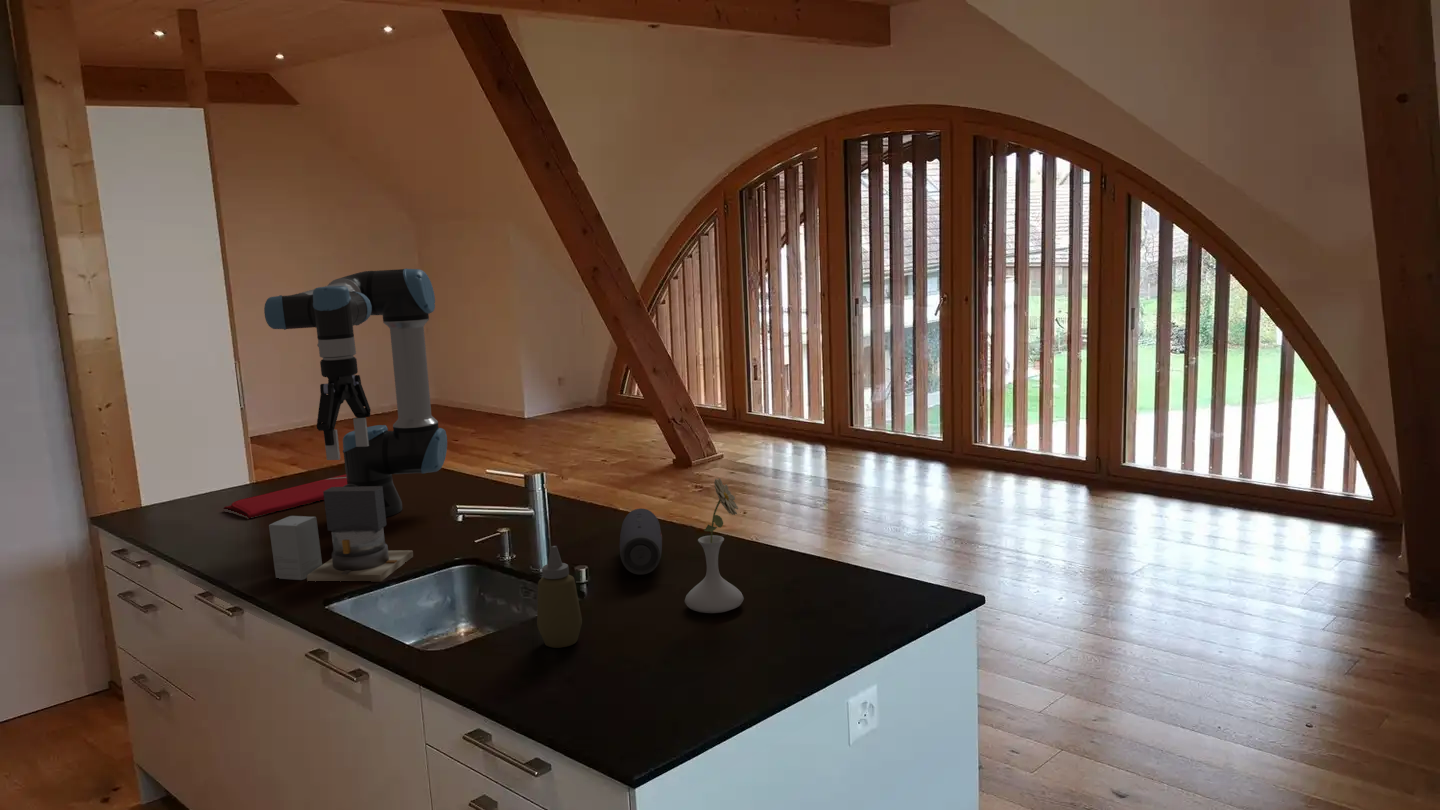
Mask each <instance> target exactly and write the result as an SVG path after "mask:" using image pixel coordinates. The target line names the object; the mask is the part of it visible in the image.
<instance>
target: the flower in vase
mask: <svg viewBox="0 0 1440 810" xmlns="http://www.w3.org/2000/svg"><path fill="white" fill-rule="evenodd" d="M713 484H714V488H715V493H716V494H717V496H718V502H717V503H716V506H715V509H714V511H713V515H712V519H711V524H707V526H706V527H705V528H704V529H703V532H708V533H709V532H710V535H705V536H704V535H703V536H701V537H699V538H698V539H697V542H698V543H699V544H700V545H701V547H702V549H703V553H704V555H705V561H706V562H705V563H706V574H705V577H704V578H703V579H702V580H701V581H700V582H699V583H697V584H696V585H694V587H693V588H692V589H691V590H690V591H689V592H688V593H687V594H686V596H685V599H684V604H685V605H686V606H687V607H688V609H690V610H692V611H694V612H698V613H704V614H720V613H725V612H729V611H731V610H735V609H736V608H738V607H740V606H741V605H742V603H743V601H744V599H745V598H744V595H743V594H742V592H741V591H740V589H738V588H737V586H735V585H734V584H732V583H730V582H728V581H727V580H726V579H725V578H723V577H722V576H721V574H720V571H719V553H720V548H721V546H722V544H723V542H724V541H725V538H724V537H723V536H720V535H716V534H715V535H714V534H713V533H714V531H715V530H716V529H718V528H719V529H720V528H722V527H723V526H724V521H723V518H722V516H720V515H718V514H716V513H717V510H718V508H719V505H720V504H721V505H722V506H723V508H724V509H725V510H726V511H727V512H728V514H729V515H730V514H731V515H732V516H733V515H734V516H736V515H738V512H737V511H736V510H739V507H738V505H737V503H736V502H735V501H734V500H736V498H735V495H734V494H732V493H731V490H729V486H728V484H724V483H723V481H722V479H721V478H720V477H718V478H715V479H714V483H713ZM714 525H715V526H714Z"/></svg>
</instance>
